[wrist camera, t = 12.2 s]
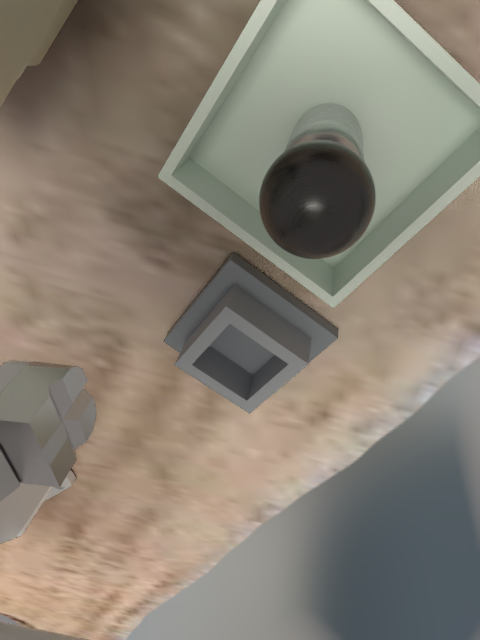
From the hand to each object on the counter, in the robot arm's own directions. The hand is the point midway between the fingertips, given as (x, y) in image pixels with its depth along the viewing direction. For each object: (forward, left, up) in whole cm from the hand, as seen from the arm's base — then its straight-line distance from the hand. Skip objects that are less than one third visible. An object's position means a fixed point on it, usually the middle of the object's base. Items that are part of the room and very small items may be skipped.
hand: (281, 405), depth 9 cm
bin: (0, 0, -22) cm, 22 cm away
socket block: (-15, -5, -22) cm, 27 cm away
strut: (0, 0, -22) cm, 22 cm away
